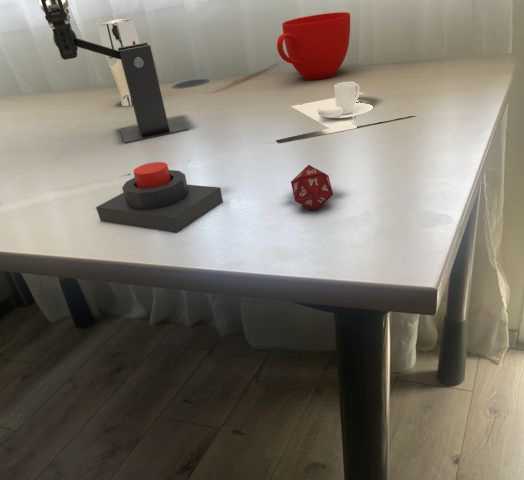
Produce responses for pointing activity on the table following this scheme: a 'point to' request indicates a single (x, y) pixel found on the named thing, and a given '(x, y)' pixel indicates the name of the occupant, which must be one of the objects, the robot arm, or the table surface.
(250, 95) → the table surface
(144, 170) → the stop button
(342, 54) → the ceramic cup
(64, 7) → the robot arm
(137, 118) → the switch bracket
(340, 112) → the teacup and saucer
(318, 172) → the dice
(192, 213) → the grey button base
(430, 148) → the table surface
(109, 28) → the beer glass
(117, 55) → the switch lever
